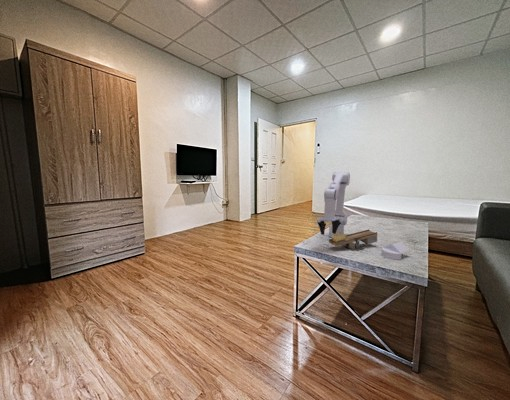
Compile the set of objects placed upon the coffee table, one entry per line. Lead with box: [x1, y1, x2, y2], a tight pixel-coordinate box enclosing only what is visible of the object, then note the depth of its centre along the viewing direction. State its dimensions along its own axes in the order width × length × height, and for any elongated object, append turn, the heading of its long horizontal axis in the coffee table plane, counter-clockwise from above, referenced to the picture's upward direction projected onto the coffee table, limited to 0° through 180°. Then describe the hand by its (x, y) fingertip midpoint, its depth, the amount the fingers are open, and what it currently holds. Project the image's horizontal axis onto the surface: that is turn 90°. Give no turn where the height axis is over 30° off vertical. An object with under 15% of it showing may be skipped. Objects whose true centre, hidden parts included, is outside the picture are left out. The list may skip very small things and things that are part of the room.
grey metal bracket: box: [341, 234, 365, 252], centre depth 125 cm, size 10×8×6 cm
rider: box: [331, 232, 346, 243], centre depth 121 cm, size 4×6×4 cm, turn 107°
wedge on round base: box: [380, 241, 410, 261], centre depth 113 cm, size 9×7×13 cm
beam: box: [328, 229, 378, 247], centre depth 125 cm, size 6×29×6 cm, turn 106°
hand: (328, 233), depth 119 cm, fingers open, 7 cm apart
